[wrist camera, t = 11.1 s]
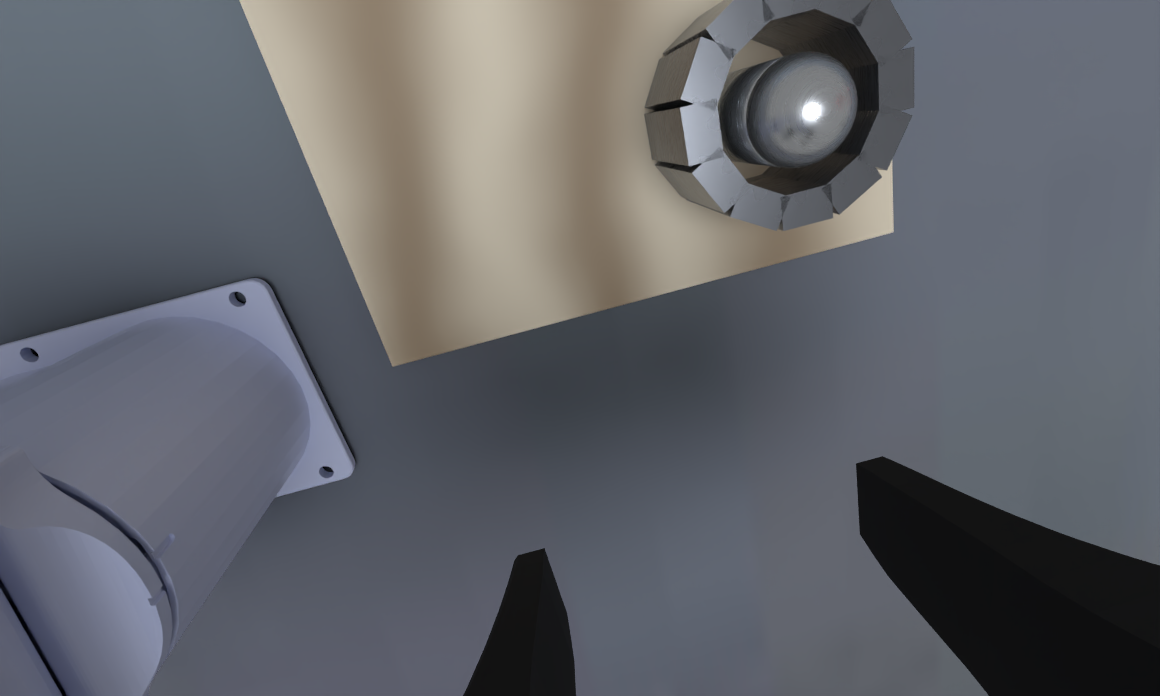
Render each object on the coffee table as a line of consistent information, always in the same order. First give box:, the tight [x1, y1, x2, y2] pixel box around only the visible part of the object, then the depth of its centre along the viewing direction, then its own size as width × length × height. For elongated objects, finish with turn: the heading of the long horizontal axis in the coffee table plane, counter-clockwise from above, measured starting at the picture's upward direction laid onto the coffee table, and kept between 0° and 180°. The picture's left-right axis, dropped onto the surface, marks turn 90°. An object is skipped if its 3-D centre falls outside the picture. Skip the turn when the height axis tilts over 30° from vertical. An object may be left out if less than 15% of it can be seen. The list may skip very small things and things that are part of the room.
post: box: [717, 51, 858, 168], centre depth 14 cm, size 3×3×5 cm
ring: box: [644, 0, 914, 231], centre depth 15 cm, size 6×6×4 cm
